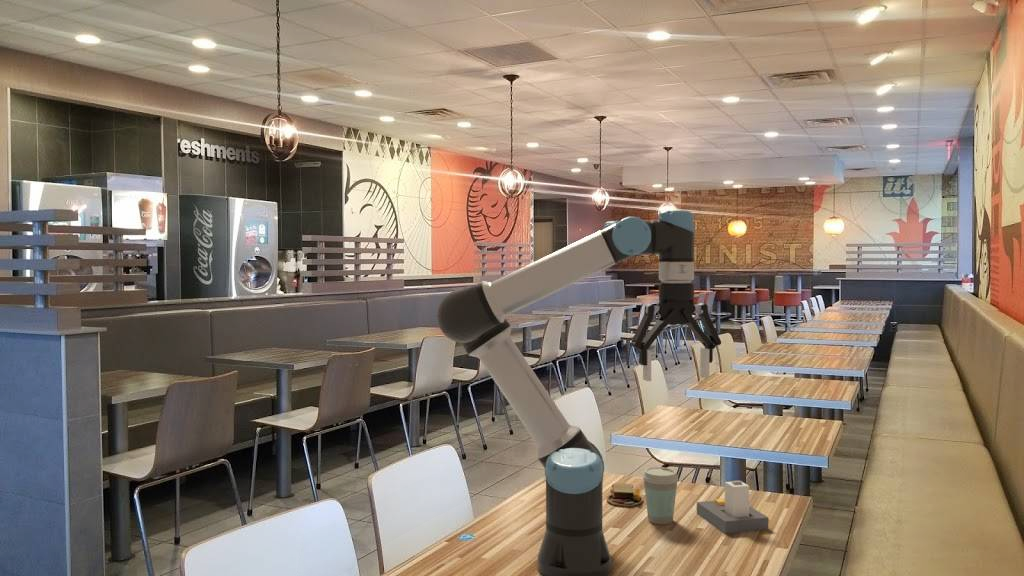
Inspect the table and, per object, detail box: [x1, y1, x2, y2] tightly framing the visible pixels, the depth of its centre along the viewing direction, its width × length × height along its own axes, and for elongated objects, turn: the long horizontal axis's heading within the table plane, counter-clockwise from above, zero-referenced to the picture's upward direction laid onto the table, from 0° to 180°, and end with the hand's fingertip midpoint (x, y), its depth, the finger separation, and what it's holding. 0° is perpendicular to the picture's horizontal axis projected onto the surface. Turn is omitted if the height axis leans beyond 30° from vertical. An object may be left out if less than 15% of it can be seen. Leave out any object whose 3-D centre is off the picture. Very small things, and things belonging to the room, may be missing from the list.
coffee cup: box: [642, 466, 680, 525], centre depth 179 cm, size 8×8×12 cm
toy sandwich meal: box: [606, 482, 644, 508], centre depth 194 cm, size 9×10×4 cm
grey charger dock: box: [696, 498, 769, 535], centre depth 177 cm, size 11×14×4 cm
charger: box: [724, 480, 750, 518], centre depth 175 cm, size 4×4×11 cm
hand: (676, 379), depth 162 cm, fingers open, 13 cm apart
